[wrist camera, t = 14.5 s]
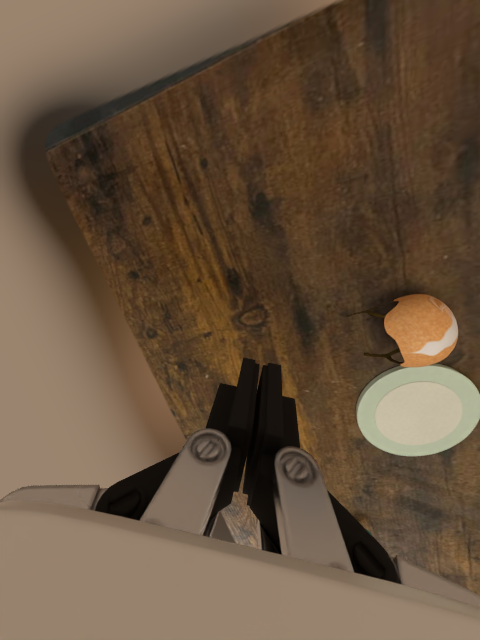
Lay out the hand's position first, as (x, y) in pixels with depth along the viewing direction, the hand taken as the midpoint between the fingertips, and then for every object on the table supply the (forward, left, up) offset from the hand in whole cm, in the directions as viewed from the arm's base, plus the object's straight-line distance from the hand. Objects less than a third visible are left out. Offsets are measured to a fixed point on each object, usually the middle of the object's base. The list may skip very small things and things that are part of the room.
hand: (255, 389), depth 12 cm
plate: (+17, +11, -16) cm, 26 cm away
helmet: (+6, +10, -16) cm, 20 cm away
